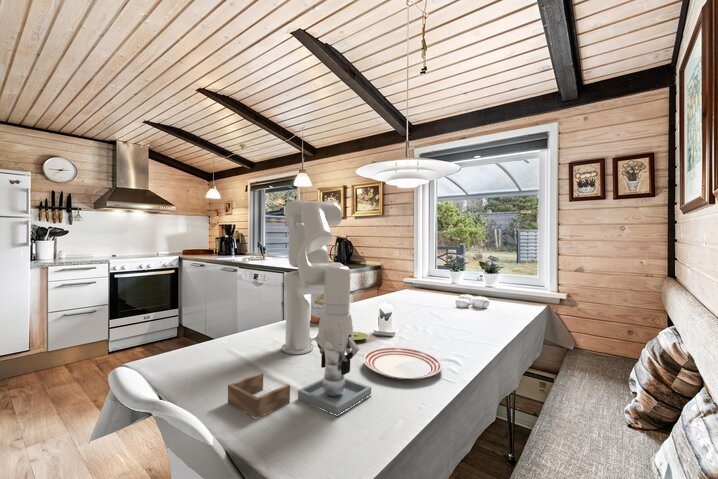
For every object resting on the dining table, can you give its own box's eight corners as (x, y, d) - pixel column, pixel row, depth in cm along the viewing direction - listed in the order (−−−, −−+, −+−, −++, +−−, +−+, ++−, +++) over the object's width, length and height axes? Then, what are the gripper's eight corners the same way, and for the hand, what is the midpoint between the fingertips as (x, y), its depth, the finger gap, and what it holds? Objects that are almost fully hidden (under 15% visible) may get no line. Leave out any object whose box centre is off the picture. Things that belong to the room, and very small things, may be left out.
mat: (354, 334, 161) (354, 330, 161) (373, 339, 154) (373, 335, 153) (337, 339, 152) (337, 335, 152) (357, 345, 145) (357, 341, 145)
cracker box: (310, 322, 179) (310, 282, 178) (313, 319, 185) (314, 280, 184) (336, 324, 176) (337, 283, 176) (339, 321, 182) (339, 281, 182)
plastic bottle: (342, 400, 97) (344, 330, 96) (318, 397, 98) (321, 327, 97) (347, 390, 103) (350, 323, 102) (325, 387, 104) (328, 321, 103)
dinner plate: (444, 360, 131) (444, 351, 131) (437, 392, 105) (438, 381, 105) (374, 351, 139) (375, 342, 139) (352, 378, 113) (352, 368, 113)
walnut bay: (261, 388, 104) (261, 372, 104) (289, 402, 96) (290, 385, 96) (227, 402, 96) (227, 385, 95) (256, 419, 88) (256, 400, 88)
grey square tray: (333, 381, 111) (333, 373, 111) (371, 395, 101) (371, 387, 101) (297, 398, 99) (298, 390, 99) (337, 417, 90) (337, 407, 90)
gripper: (306, 306, 102) (304, 365, 102) (351, 316, 91) (350, 383, 92) (323, 302, 108) (322, 358, 108) (368, 311, 97) (367, 373, 98)
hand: (335, 369), depth 100 cm, fingers open, 7 cm apart
